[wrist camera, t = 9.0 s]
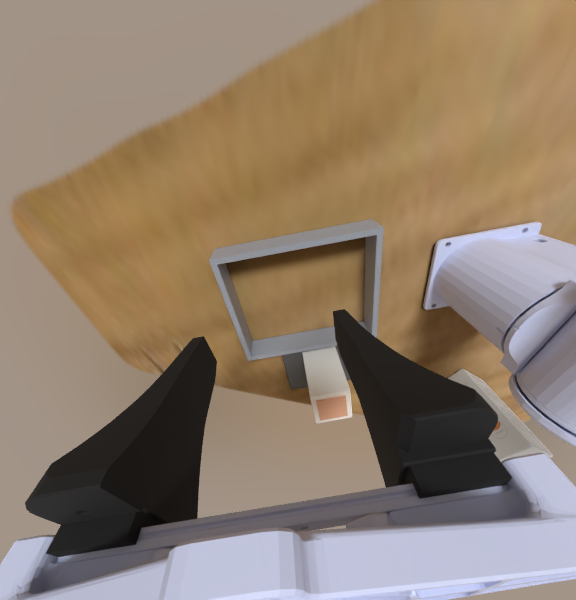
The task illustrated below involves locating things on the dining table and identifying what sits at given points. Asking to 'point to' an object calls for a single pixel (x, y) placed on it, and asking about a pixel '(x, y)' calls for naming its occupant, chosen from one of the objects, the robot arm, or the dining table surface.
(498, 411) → the small box
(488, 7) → the dining table surface
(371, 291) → the grey rectangular frame
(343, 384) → the block
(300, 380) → the mat
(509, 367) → the robot arm
